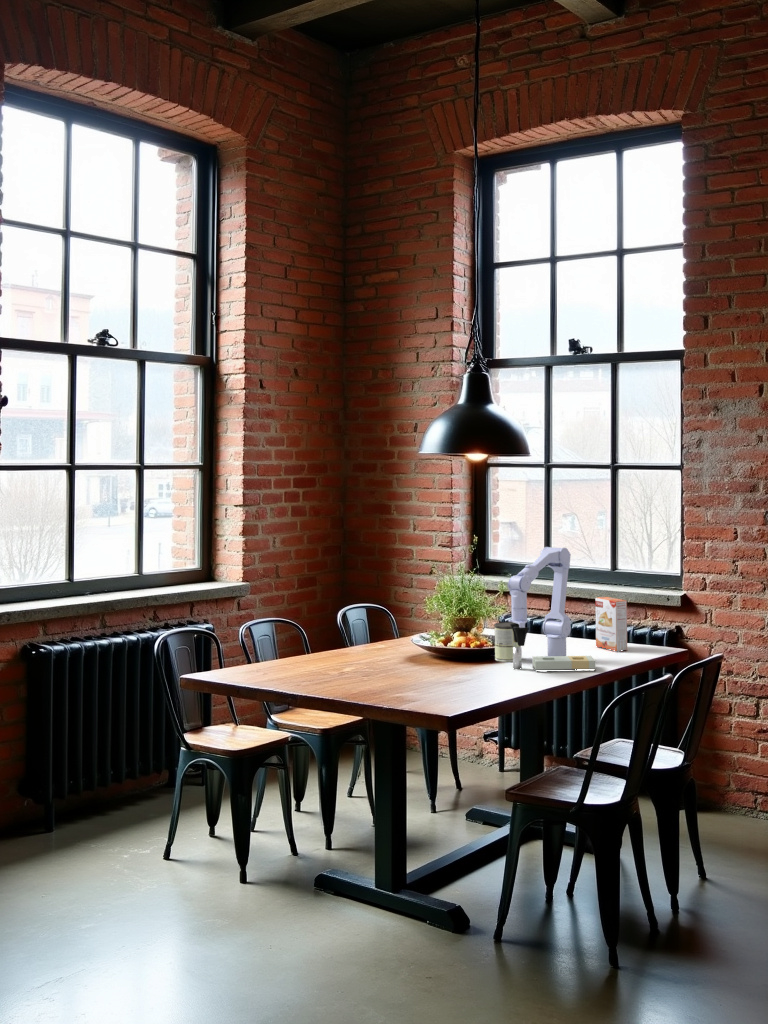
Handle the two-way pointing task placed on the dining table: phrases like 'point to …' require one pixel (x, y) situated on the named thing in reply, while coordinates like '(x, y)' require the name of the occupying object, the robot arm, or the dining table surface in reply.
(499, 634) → the coffee can
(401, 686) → the dining table surface
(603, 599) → the cracker box
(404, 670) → the dining table surface
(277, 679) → the dining table surface
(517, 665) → the steel peg
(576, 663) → the hole block
